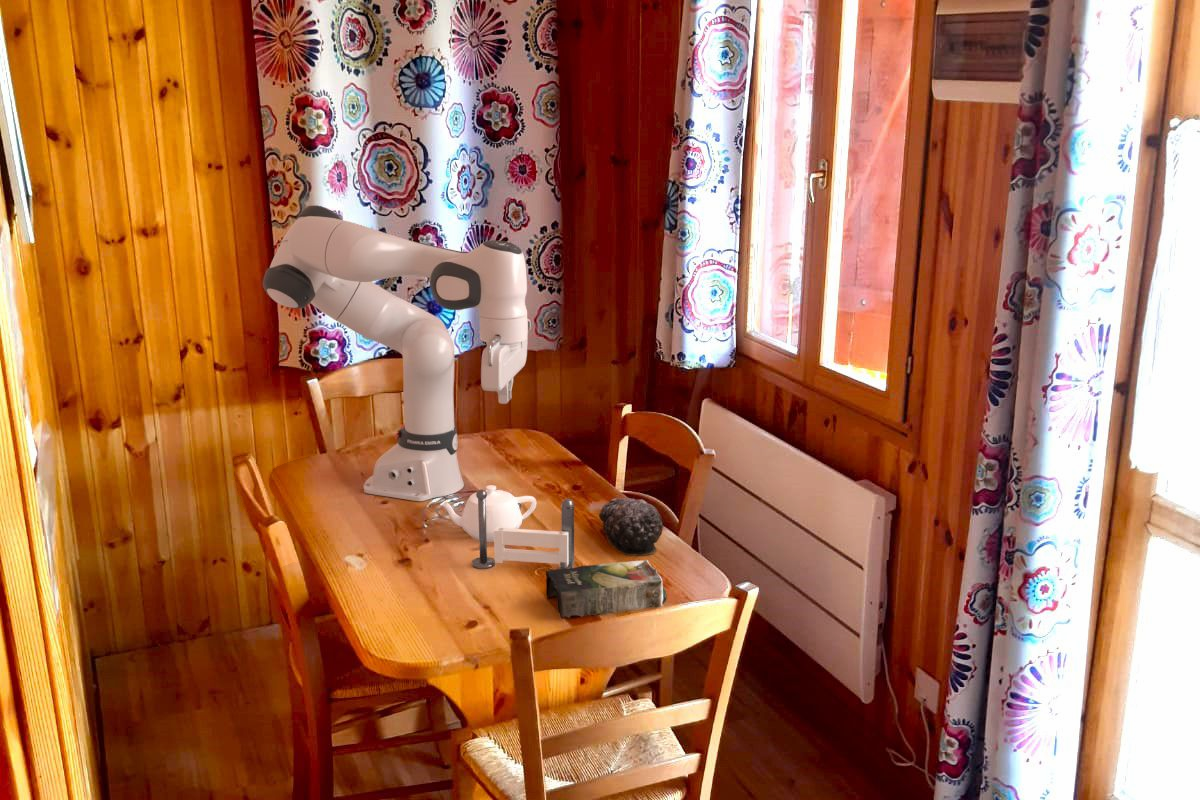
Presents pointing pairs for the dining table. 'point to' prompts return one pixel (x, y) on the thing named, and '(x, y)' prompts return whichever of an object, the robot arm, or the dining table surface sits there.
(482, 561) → the hinge post
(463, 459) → the dining table surface
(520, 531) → the gate
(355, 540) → the dining table surface
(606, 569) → the juice carton
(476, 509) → the teapot
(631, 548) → the pine cone
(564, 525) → the latch post
